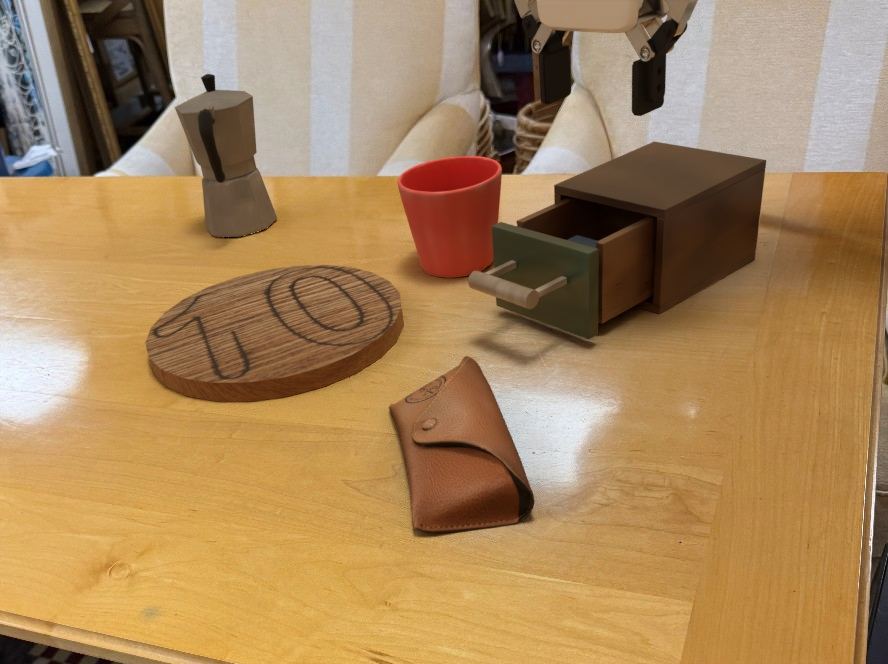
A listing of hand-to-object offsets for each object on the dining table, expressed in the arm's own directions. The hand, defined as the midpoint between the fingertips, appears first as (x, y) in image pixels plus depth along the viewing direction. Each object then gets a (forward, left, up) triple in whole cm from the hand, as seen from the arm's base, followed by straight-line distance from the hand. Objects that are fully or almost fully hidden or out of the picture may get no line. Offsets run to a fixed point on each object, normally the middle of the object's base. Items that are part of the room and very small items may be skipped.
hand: (600, 105), depth 75 cm
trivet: (+23, -20, -18) cm, 36 cm away
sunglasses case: (+26, +9, -18) cm, 33 cm away
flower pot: (+1, -18, -18) cm, 26 cm away
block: (+2, 0, -16) cm, 16 cm away
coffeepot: (+9, -50, -18) cm, 54 cm away
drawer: (+3, 0, -17) cm, 17 cm away
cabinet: (-9, 0, -18) cm, 20 cm away
